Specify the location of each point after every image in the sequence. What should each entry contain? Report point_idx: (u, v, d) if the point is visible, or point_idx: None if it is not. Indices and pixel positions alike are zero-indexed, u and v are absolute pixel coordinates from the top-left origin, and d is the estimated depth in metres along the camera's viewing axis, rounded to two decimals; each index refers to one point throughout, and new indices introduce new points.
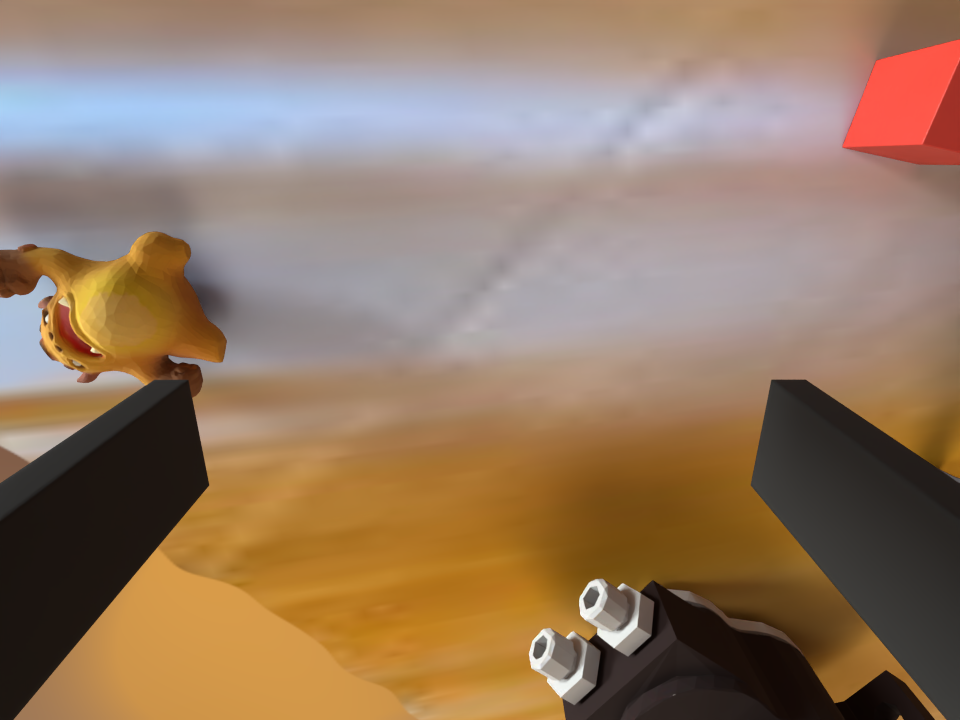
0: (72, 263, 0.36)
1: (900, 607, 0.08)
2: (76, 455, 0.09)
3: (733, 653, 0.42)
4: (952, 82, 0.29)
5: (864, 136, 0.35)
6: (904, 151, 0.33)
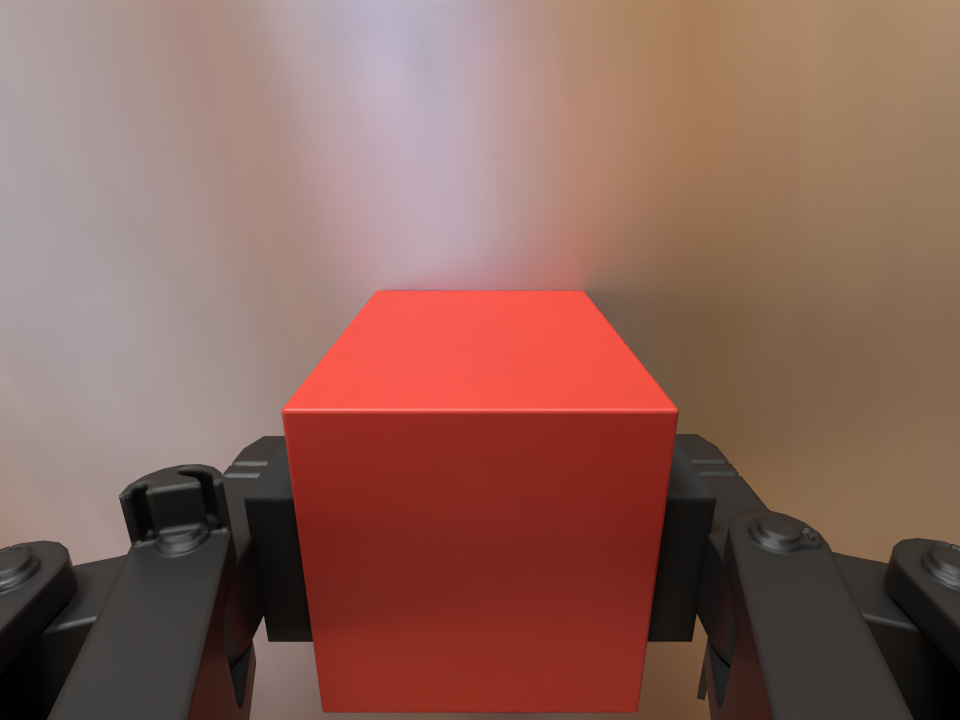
0: None
1: None
2: None
3: None
4: (518, 420, 0.07)
5: (389, 308, 0.12)
6: None
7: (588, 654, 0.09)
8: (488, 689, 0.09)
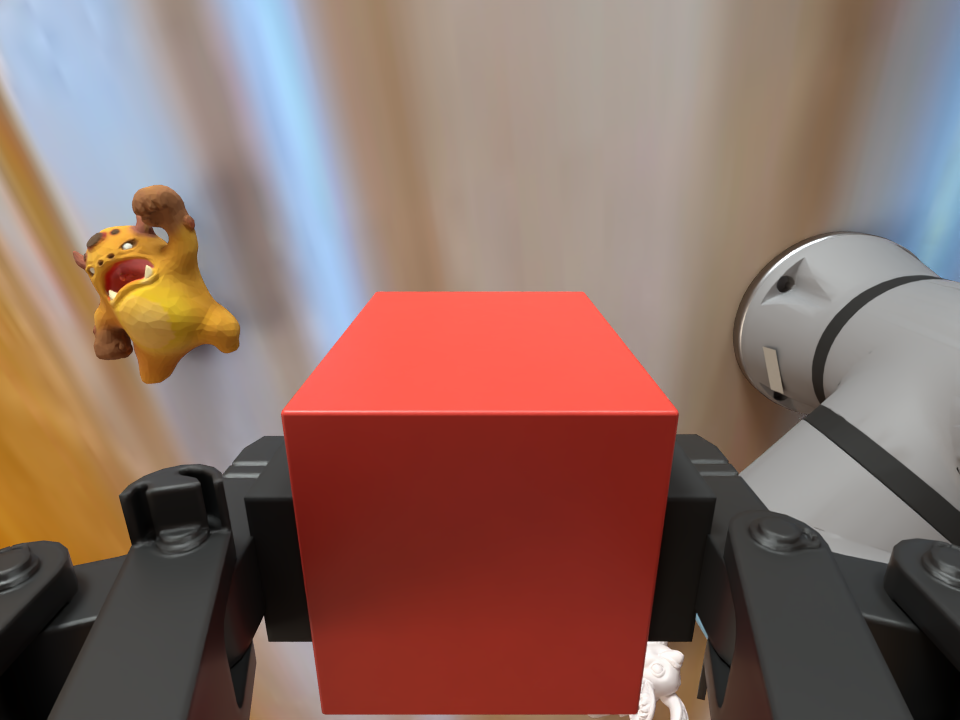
0: (187, 265, 0.41)
1: None
2: None
3: None
4: (517, 421, 0.07)
5: (389, 310, 0.12)
6: None
7: (588, 655, 0.09)
8: (487, 691, 0.09)
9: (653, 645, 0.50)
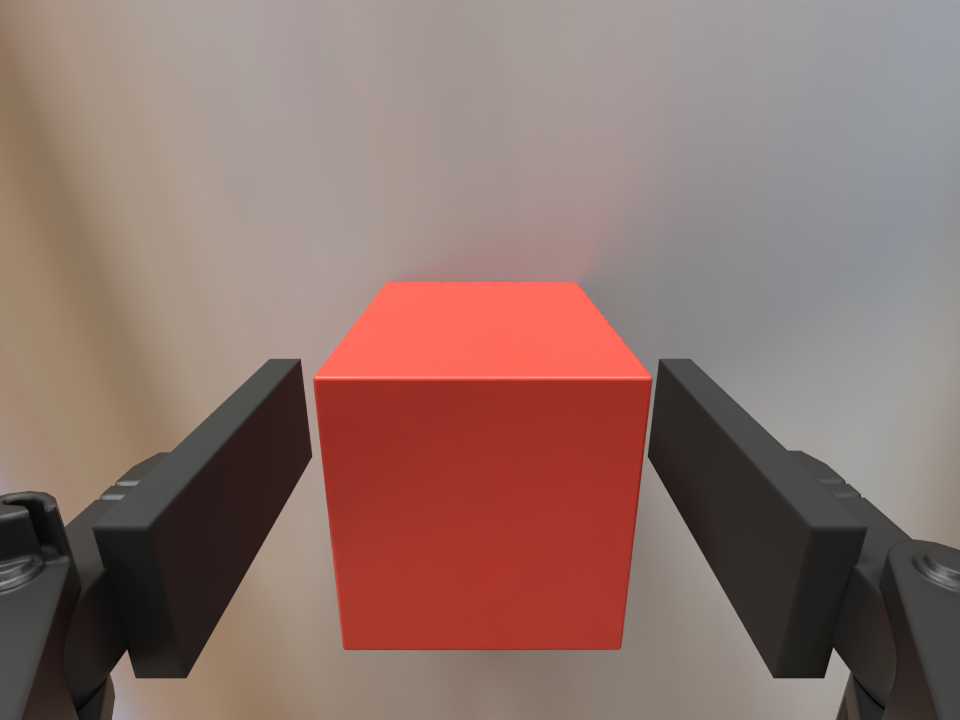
0: None
1: (728, 549, 0.10)
2: (235, 419, 0.10)
3: None
4: (515, 385, 0.09)
5: (399, 298, 0.13)
6: None
7: (576, 595, 0.10)
8: (489, 628, 0.10)
9: None
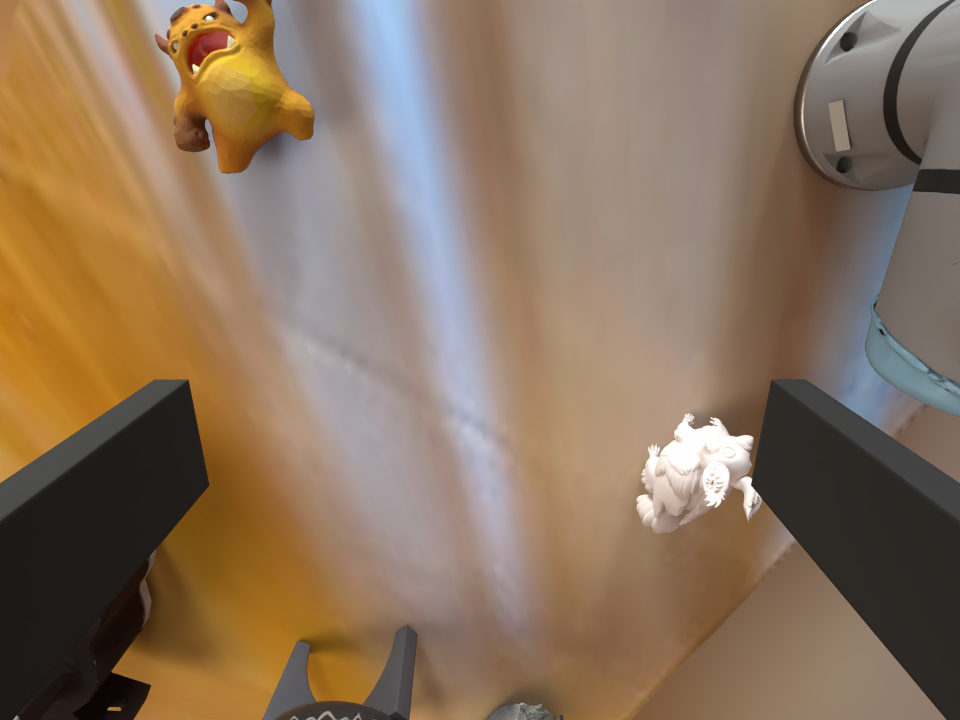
0: (266, 41, 0.43)
1: (900, 608, 0.08)
2: (76, 455, 0.09)
3: (124, 597, 0.57)
4: None
5: None
6: None
7: None
8: None
9: (721, 436, 0.51)
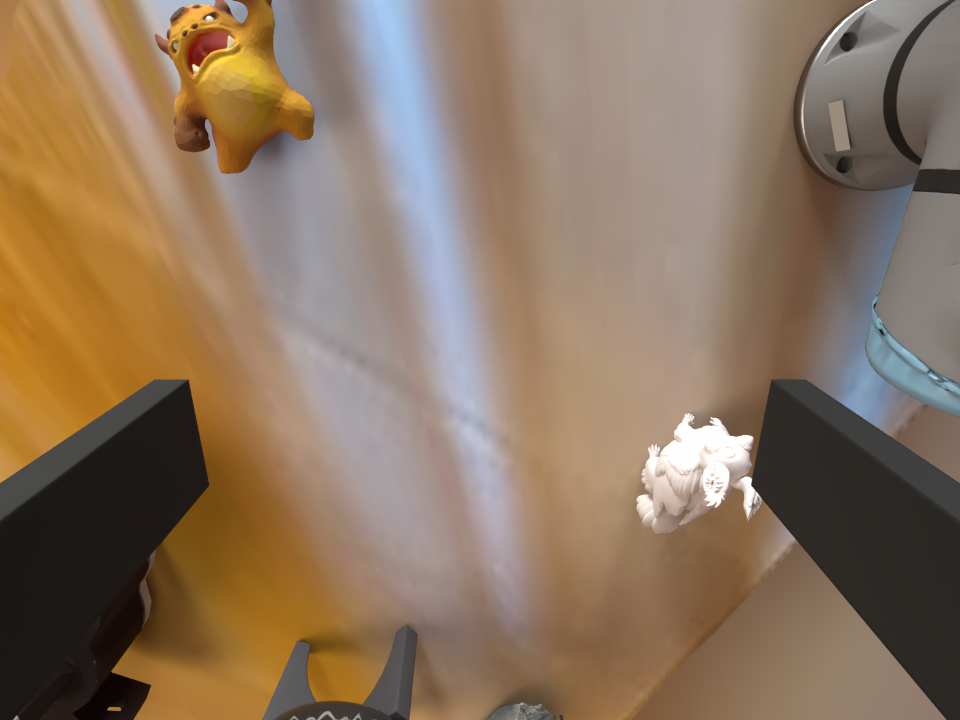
0: (266, 41, 0.43)
1: (900, 608, 0.08)
2: (76, 455, 0.09)
3: (124, 597, 0.57)
4: None
5: None
6: None
7: None
8: None
9: (721, 436, 0.51)
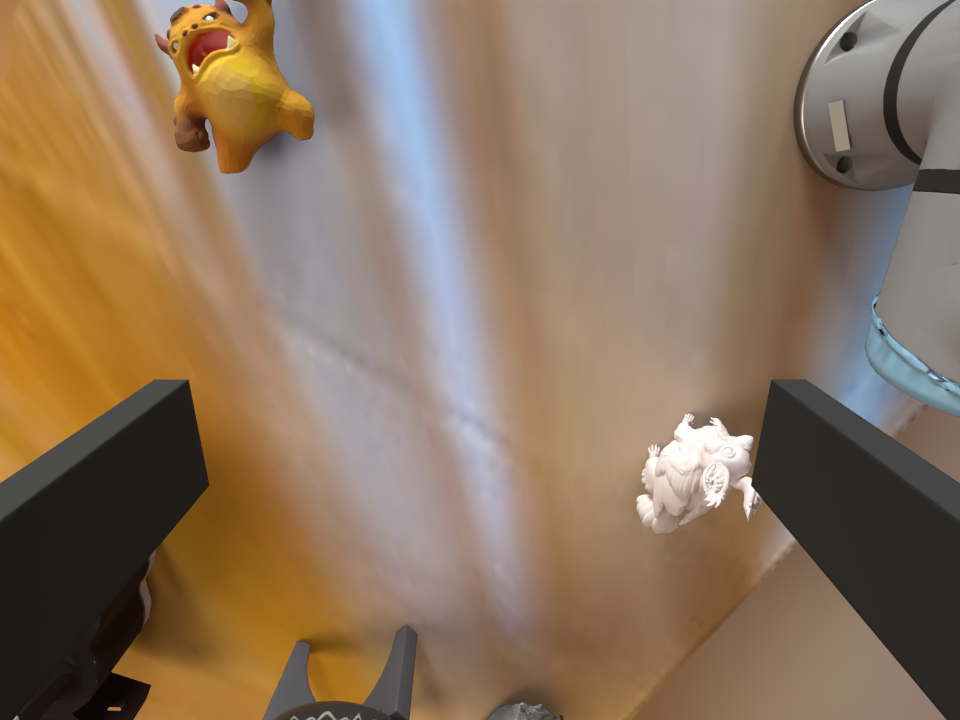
0: (266, 41, 0.43)
1: (900, 608, 0.08)
2: (76, 455, 0.09)
3: (124, 597, 0.57)
4: None
5: None
6: None
7: None
8: None
9: (721, 436, 0.51)
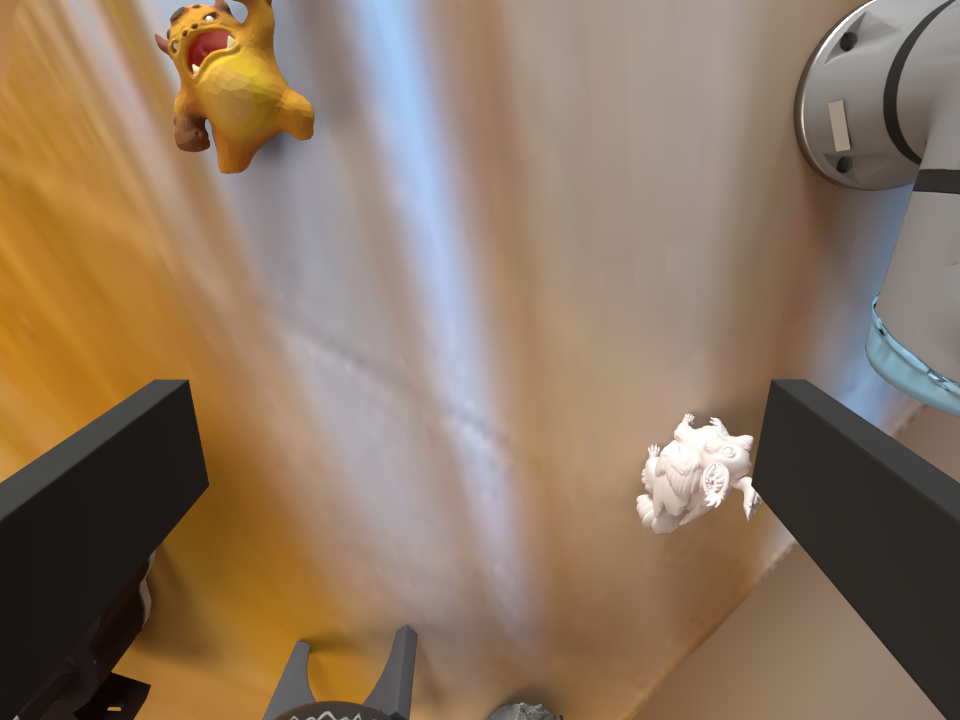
0: (266, 41, 0.43)
1: (900, 608, 0.08)
2: (76, 455, 0.09)
3: (124, 597, 0.57)
4: None
5: None
6: None
7: None
8: None
9: (721, 436, 0.51)
